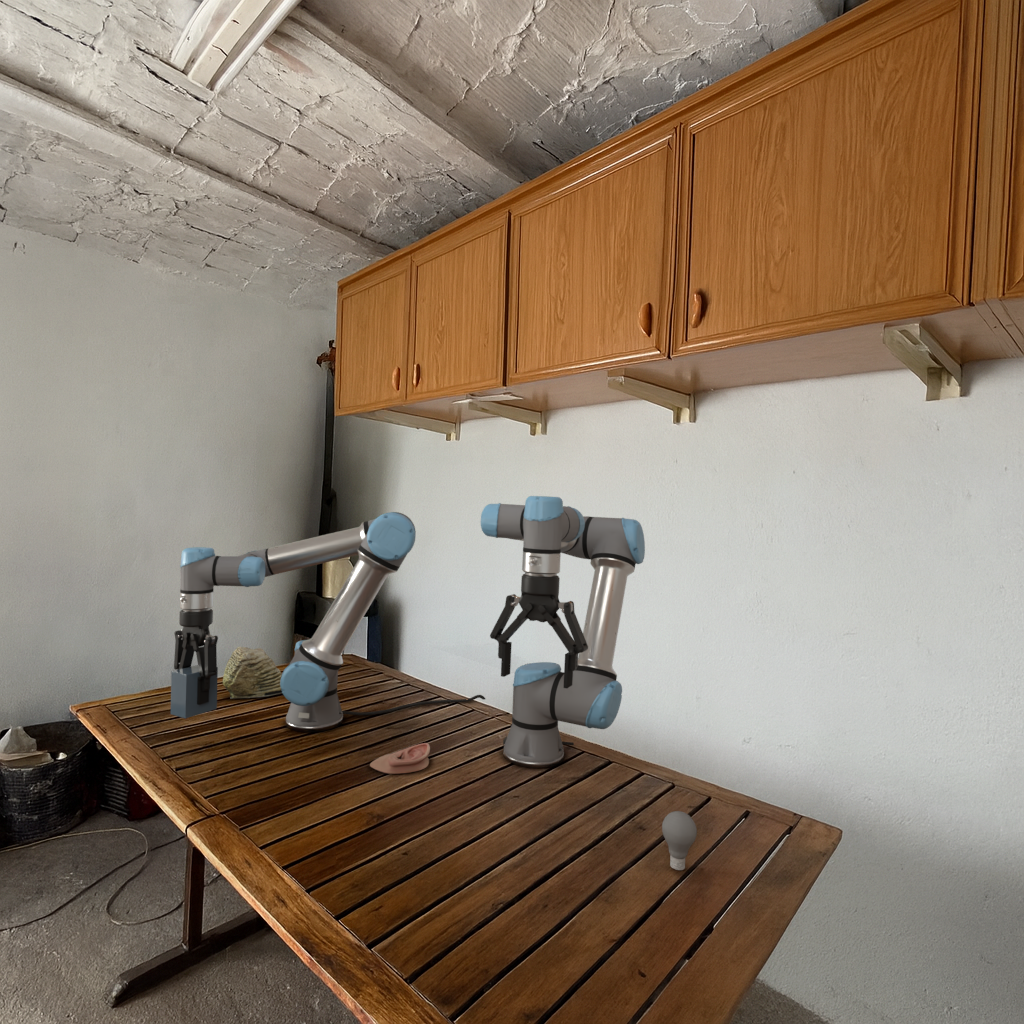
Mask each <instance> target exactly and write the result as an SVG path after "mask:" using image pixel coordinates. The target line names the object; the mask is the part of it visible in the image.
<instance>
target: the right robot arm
mask: <svg viewBox="0 0 1024 1024" xmlns="http://www.w3.org/2000/svg"><path fill="white" fill-rule="evenodd" d="M480 528H481V531H482V533H483V534H484V535H485V536H486V537H491V538H495V539H498V538H499V539H508V540H509V539H510V540H513V541H514V540H515V541H521V542H523V544H522V545H523V546H522V561H521V562H522V566H521V570H522V572H523V574H522V575H521V582H520V583H521V585H520V592H521V595H520V596H517V595H516V594H515V593H513V594H509V595H506V597H505V603H504V607H503V609H502V611H501V613H500V615H499V617H498V619H497V621H496V622H495V625H494V626H493V628H492V630H491V632H490V634H489V637H490V639H491V640H495V641H496V642H497V643H498V648H497V650H498V651H497V657H498V659H501V662H500V663H501V664H500V665H501V666H500V677H503V678H506V677H507V676H509V675H511V668H512V667H511V665H512V641H509V640H510V638H511V637H512V636H513V635H514V634H515V633H516V632H517V631H518V630H519V629H520V627H522V625H523V624H524V623H525V622H526V621H527V620H529V621H530V622H535V621H537V622H539V623H545V622H546V623H548V625H549V626H550V627H551V628H552V630H554V632H555V634H556V635H557V637H558V638H559V640H560V641H561V643H562V644H563V646H564V647H565V649H566V651H568V652H567V653H565V654H564V667H563V671H562V667H561V665H560V664H559V663H557V662H551V661H542V662H541V661H538V662H531V663H526V664H522V665H520V666H519V667H517V668H516V669H515V671H514V676H513V684H512V711H511V712H512V713H511V726H510V728H509V731H508V733H507V735H505V737H504V738H503V741H502V746H503V752H502V755H503V757H504V759H505V760H506V761H508V762H509V763H510V764H514V765H516V766H519V767H524V768H530V769H544V768H551V767H554V766H557V765H559V764H561V763H562V762H563V761H564V759H565V750H564V746H574V745H575V743H574V742H572V741H562V738H561V734H560V730H559V722H562V723H566V724H572V725H577V726H582V727H586V728H587V729H597V730H606V729H608V728H609V727H611V726H612V724H613V723H614V721H615V720H616V718H617V716H618V713H619V712H620V711H619V710H620V707H621V704H622V699H623V695H622V693H623V686H622V683H621V682H619V680H617V679H618V674H617V673H616V670H614V668H613V663H614V658H615V651H616V646H617V642H618V641H617V640H618V635H619V629H620V623H621V616H622V610H623V605H624V599H625V593H626V588H627V581H628V577H629V576H630V575H632V574H633V573H634V572H635V569H636V565H640V564H643V562H644V559H645V555H646V545H645V544H646V543H645V535H644V530H643V527H642V524H641V523H640V521H638V520H637V519H633V518H625V517H603V516H589V515H588V516H586V515H585V516H584V515H583V514H582V512H581V511H580V510H578V509H577V508H575V507H571V506H569V505H568V506H567V505H566V506H565V505H564V501H563V499H562V498H561V497H559V496H545V495H529V496H528V497H527V498H526V499H525V503H524V504H510V503H501V502H498V503H488V504H487V505H485V506H484V507H483V509H482V511H481V513H480ZM561 554H564V555H568V556H571V557H575V558H579V559H583V560H590V563H589V564H590V565H591V567H592V568H593V570H594V573H593V578H592V582H591V588H590V594H589V598H588V604H587V609H586V614H585V620H584V625H583V629H582V628H581V625H580V623H579V620H578V618H577V616H576V611H575V602H574V601H573V600H569V601H560V599H559V595H560V580H561V579H560V577H559V575H558V574H560V573H561V556H562V555H561ZM517 606H520V608H521V611H520V613H519V614H518V615H516V618H515V619H514V620H513V621H512V622H511V623H510V624H509V625H508V627H507V628H506V626H507V624H508V622H509V620H510V619H511V616H512V614H513V612H514V610H515V608H516V607H517ZM559 610H561V613H563V615H564V618H565V621H566V624H567V626H568V628H569V630H568V629H567V628H566V627H565V625H564V623H563V622H562V619H561V617H560V616H559V614H558V613H557V612H558V611H559ZM505 628H506V629H505ZM569 631H570V632H569Z"/></svg>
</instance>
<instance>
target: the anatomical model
mask: <svg viewBox="0 0 1024 1024" xmlns="http://www.w3.org/2000/svg"><path fill="white" fill-rule="evenodd" d="M430 751H431V745H430V744H429V743H427V742H424V743H423V742H422V743H419V744H415V745H412V746H408V747H406V748H403V749H401V750H397V751H395V752H392V753H387V754H384V755H382V756H380V757H377V758H376V759H374V760H373V761H371V762H370V763H369V767H370V768H372V769H373V770H375V771H378V772H380V773H384V774H389V775H390V774H391V775H392V774H395V775H396V774H409V773H414V772H418V771H421V770H424V769H426V768H427V767H429V764H430V759H429V755H430Z"/></svg>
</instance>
